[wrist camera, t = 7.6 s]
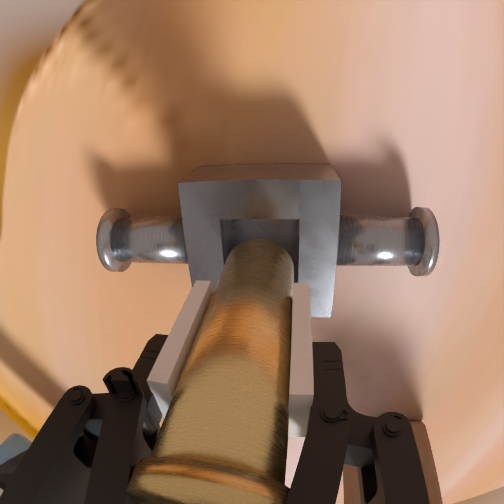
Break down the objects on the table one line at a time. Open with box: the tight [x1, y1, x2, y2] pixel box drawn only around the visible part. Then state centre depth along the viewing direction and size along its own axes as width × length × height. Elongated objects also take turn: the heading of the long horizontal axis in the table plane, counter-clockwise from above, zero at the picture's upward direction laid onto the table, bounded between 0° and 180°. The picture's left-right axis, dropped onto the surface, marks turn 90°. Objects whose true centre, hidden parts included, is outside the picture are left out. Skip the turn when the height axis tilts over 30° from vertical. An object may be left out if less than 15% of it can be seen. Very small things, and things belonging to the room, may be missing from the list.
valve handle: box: [126, 239, 294, 504], centre depth 12 cm, size 5×5×14 cm
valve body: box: [96, 164, 439, 317], centre depth 23 cm, size 25×10×6 cm, turn 93°
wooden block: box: [343, 421, 443, 504], centre depth 29 cm, size 10×10×20 cm
